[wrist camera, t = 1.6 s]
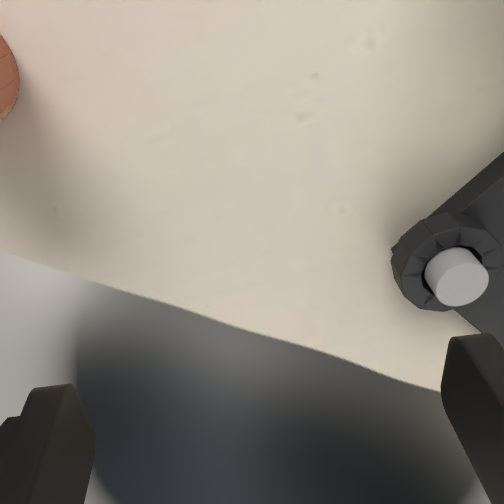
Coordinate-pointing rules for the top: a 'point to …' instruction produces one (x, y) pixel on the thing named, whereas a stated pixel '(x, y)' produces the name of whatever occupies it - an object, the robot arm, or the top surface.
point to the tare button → (456, 276)
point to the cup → (7, 80)
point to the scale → (465, 236)
